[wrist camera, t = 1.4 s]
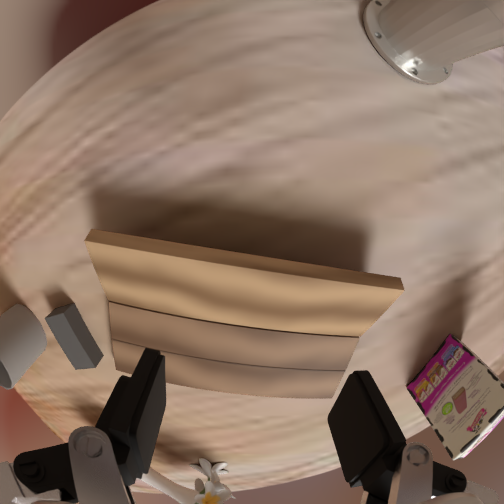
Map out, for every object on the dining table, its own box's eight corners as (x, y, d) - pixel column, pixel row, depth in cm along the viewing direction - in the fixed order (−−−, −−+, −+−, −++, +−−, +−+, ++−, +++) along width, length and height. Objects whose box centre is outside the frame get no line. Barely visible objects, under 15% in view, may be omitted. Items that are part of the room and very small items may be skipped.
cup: (37, 308, 28) (-4, 345, 18) (53, 356, 30) (21, 396, 21) (4, 300, 27) (-34, 330, 18) (19, 345, 30) (-12, 378, 20)
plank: (91, 228, 20) (84, 240, 19) (400, 277, 23) (404, 290, 22) (112, 289, 27) (108, 300, 26) (358, 325, 29) (360, 336, 28)
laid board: (114, 296, 27) (108, 302, 26) (355, 331, 30) (359, 338, 28) (119, 362, 30) (115, 370, 29) (329, 390, 32) (331, 398, 31)
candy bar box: (420, 392, 34) (463, 459, 19) (405, 387, 33) (450, 462, 18) (462, 340, 32) (520, 399, 16) (450, 331, 31) (514, 396, 15)
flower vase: (123, 415, 42) (227, 479, 40) (72, 473, 26) (194, 545, 24) (133, 389, 37) (259, 466, 35) (66, 462, 20) (224, 551, 18)
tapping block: (56, 307, 28) (44, 318, 25) (75, 301, 28) (63, 313, 25) (84, 356, 30) (75, 369, 28) (104, 354, 30) (95, 367, 27)
